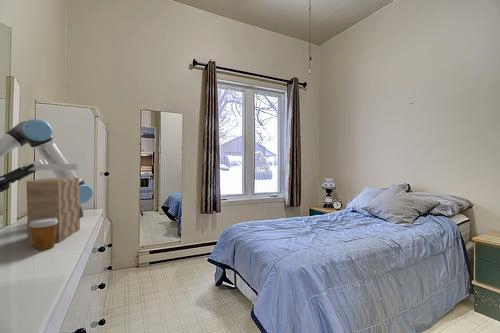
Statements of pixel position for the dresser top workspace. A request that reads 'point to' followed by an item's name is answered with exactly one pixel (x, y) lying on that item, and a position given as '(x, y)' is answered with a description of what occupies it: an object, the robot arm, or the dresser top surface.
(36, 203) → the walnut shelf
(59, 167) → the steel bar
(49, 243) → the disposable coffee cup
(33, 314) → the dresser top surface
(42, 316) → the dresser top surface
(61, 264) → the dresser top surface
